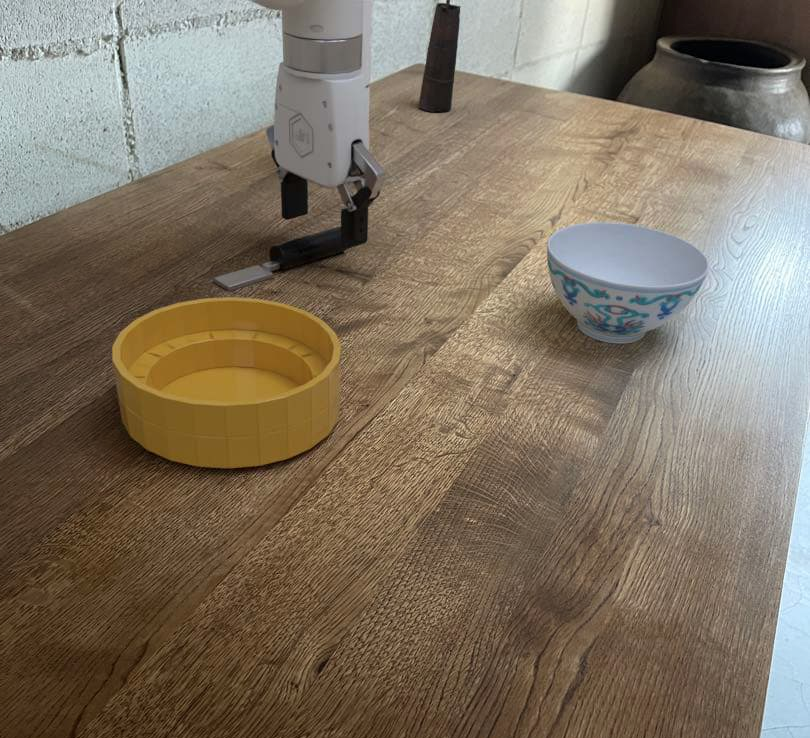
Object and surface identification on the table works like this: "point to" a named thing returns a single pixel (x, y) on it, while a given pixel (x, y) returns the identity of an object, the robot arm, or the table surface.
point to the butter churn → (441, 59)
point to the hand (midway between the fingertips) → (323, 230)
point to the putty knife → (286, 258)
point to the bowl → (228, 381)
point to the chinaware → (623, 277)
